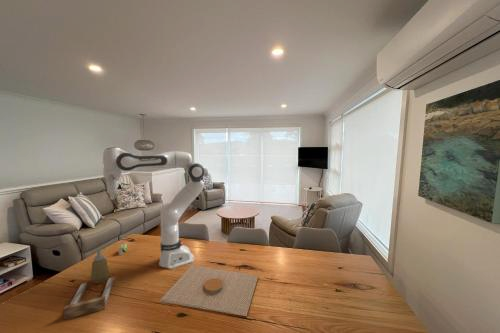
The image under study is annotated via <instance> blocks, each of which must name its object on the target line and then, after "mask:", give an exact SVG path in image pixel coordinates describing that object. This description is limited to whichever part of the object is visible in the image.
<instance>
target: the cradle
mask: <svg viewBox="0 0 500 333" xmlns="http://www.w3.org/2000/svg"><path fill="white" fill-rule="evenodd" d="M114 282H115V277H114V276H113V277H109V278H108V279H107V282H106V285H105V288H104V290H103V293H102V295H101V297H97V298H91V299H89V300H84V301H82V299H83V296H84V295H85V292H86V290H87V289H88V282H84V283H81V284H80V286H79V287H78V289H77V291H76V292H75V294H74V296H73V298H72V299H71V302H70V303H69V304H67V305H65V306H64V307H63V317H64V320H68V319H72V318H76V317H79V316H83V315H87V314H91V313H95V312H99V311H102V310H106V307H107V305H108V304H107V303H108V302H109V298H110V294H111V292H112V289H113V287H114Z"/></svg>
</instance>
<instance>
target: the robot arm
mask: <svg viewBox="0 0 500 333" xmlns="http://www.w3.org/2000/svg"><path fill="white" fill-rule="evenodd" d="M102 164H103V169H102V170H103V174H102V175H103V178H104V179H106V192H107V193H108V194H109V198H110V200H112V201H113V200H115V197H116V196H117V190H118V188H119V186H120V185H119V184H120V178H122V171H125V172H128V171H132V170H134V169H137V168H139V167H140V168H143V167H161V168H166V169H167V168H169V169H176V168H178V169H179V168H182V169H184V172H185V174H186V176H187V177H189V180H188V182H187V184H185V185H184V186H183V187H182V189H181V190H179V191H178V193H177V194H175V196H174V198H173V199H172V200H171V201H170V202H167V203H164V204H163V205H162V206H161V208H160V212H159V213H160V238H161V239H160V240H161V241H160V257H159V258H160V259H159V262H158V265H159V267H162V268H167V269H169V270H173V269H177V268H178V267H182V266H184V265H187V264H191V263H193V262H194V260H195V256H194V254H193V253H192V252H191V250H190V248H189V247H188V246H186V245H184V243H183V240H182V239H181V238H179V237H180V234H179V233H180V231H179V229H180V228H179V220H180V218H182V215H183V214H184V213H185V211H186V209H187V208H188V207H189V205H191V204H192V203H193V202H194V201H195V199H197V197H198V196H199V195H200V194H201V193H202V191H203V190H204V187H205V182H204V180H203V179H204V175H205V168H204V167H203V165H202V164H200V163H198V162H195V161H193V157H192V155H191V153H190V152H187V151H182V150H181V151H180V150H179V151H177V150H175V151H174V150H173V151H172V150H171V151H164V152H161V153H159V154H155V155H136V154H135V153H132V152H128V151H125V150H123V149H121V148H120V147H118V146H115V147H108V148H105V149H104V150H103V153H102Z"/></svg>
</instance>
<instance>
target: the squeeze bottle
mask: <svg viewBox="0 0 500 333" xmlns="http://www.w3.org/2000/svg"><path fill="white" fill-rule="evenodd" d="M90 274H91V275H90V278H91V280H92V282H93V284H101V283H103V282H105V281H107V280H108V279H107V278H108V275H109V266H108V260H107V258H106V257H105V254H102V251H101V250H100V249H98V250H97V252H96V255H95V256H94V258H93V261H92V263H91V272H90Z"/></svg>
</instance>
